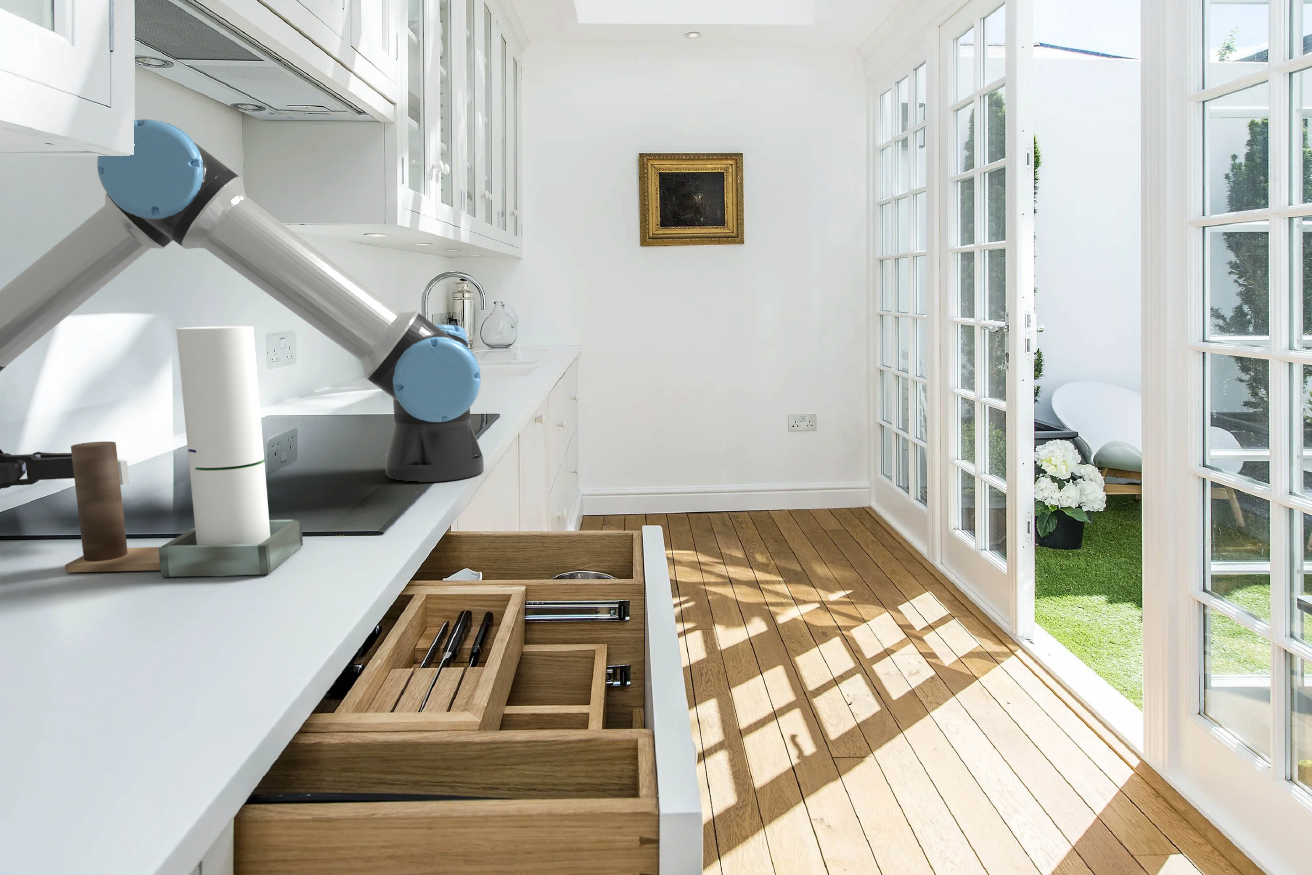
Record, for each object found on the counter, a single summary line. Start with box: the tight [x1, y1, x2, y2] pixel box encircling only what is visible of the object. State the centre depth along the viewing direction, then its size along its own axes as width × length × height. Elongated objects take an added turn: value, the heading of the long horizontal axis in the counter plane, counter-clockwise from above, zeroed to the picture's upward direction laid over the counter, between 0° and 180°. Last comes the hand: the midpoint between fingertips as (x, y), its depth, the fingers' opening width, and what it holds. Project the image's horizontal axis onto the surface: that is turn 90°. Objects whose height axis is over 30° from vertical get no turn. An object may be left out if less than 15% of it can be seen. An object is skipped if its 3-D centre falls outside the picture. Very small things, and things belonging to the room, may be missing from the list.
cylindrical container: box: [175, 325, 270, 545], centre depth 95 cm, size 7×7×25 cm
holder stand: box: [64, 440, 304, 578], centre depth 95 cm, size 21×11×13 cm, turn 93°
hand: (63, 484), depth 97 cm, fingers open, 13 cm apart
